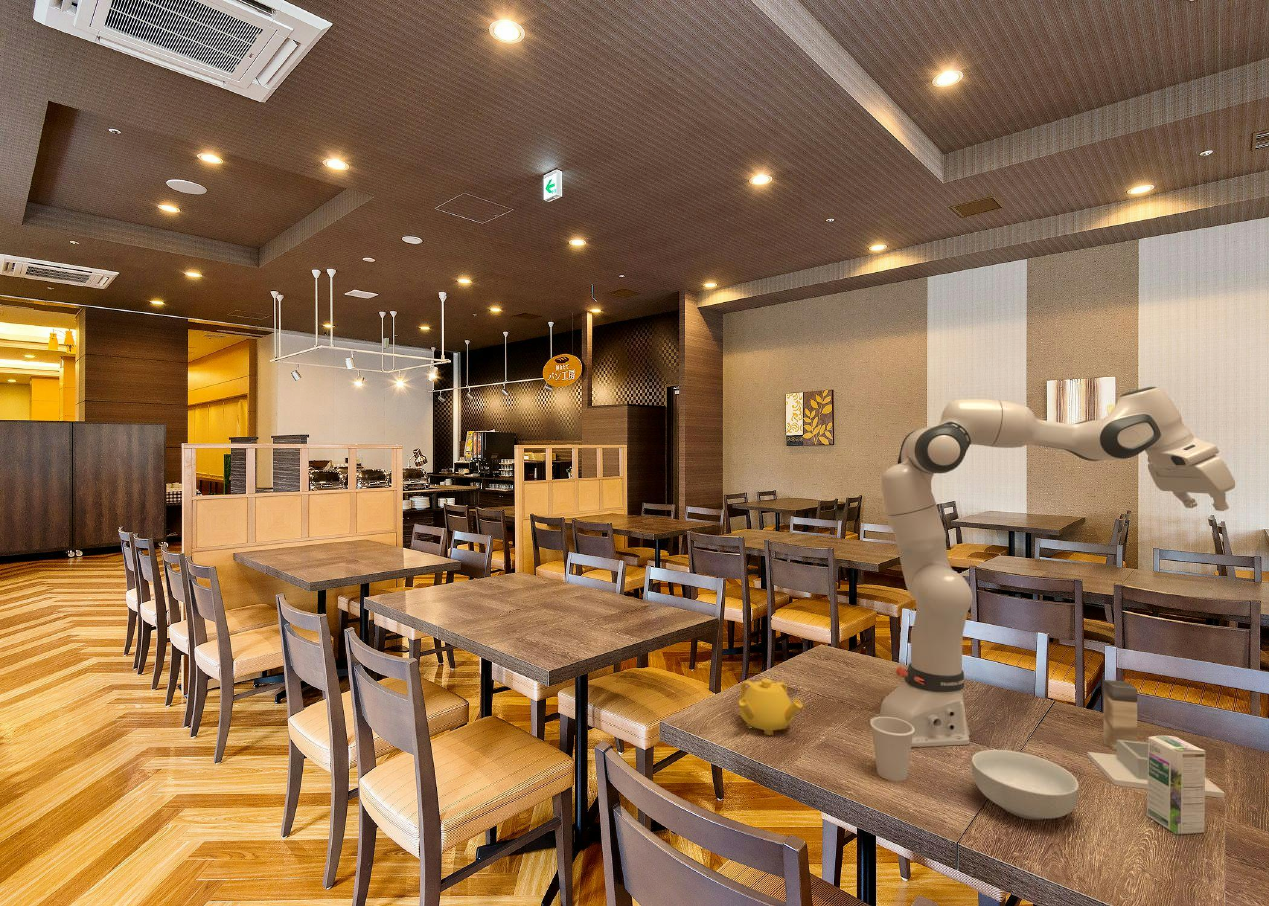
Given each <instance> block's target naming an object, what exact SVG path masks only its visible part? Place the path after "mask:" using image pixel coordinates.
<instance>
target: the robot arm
mask: <svg viewBox="0 0 1269 906" xmlns="http://www.w3.org/2000/svg"><path fill="white" fill-rule="evenodd" d="M971 445H972V446H973V445H975V446H976V445H977V446H983V447H991V448H1002V449H1006V448H1011V449H1013V448H1015V449H1016V448H1023V447H1026V446H1037V447H1038V446H1040V447H1044V448H1045V447H1046V448H1053V449H1057V450H1058V449H1060V450H1065V451H1066V452H1069V453H1071V454H1072V455H1074V456H1076V457H1077V458H1080V459H1082V460H1085V461H1088V462H1089V461H1090V462H1098V461H1106V460H1107V461H1109V460H1111V461H1113V460H1126V459H1130V458H1133V457H1136V456H1138V455H1139V454H1142V452H1144V451H1145V453H1146V454H1147V462H1148V464H1147V469H1148V473H1149V474H1150V477H1151V479H1152V481H1153V482H1154V484H1155V486H1156V488H1157V489H1159V490H1160V491H1162V492H1172V493H1173V496H1175V498H1177V499H1178V500H1179V501H1181V503H1182V504H1183V506H1184V507H1185V508H1186V509H1193V508H1196V507H1197V506H1198V503H1197V502H1196V499H1195V498H1193V497H1191V495H1190V494H1189V493H1192V494H1208V495H1209V496H1210V498H1213V503H1212V504H1211V505H1212V506H1213V508H1214V510H1215V511H1216V512H1217V511H1218V512H1225V511H1226V510H1229V509H1230V507H1229V504H1228V503H1227V500H1226V497H1227V496H1226V495H1227V494H1226V493H1227V492H1229V491H1231V490H1234V489H1235V488H1236V481H1235V477H1234V476H1233V474H1232V473H1231V471H1230V469H1229V467H1228V466H1227V464H1226V463H1225V461H1224V459H1222V458H1221V457H1220V456H1219V455H1218V454H1219V452H1220V450H1219V449H1218V447H1217V446H1216V445H1215V444H1214V443H1211V442H1207V441H1205V440H1202V439H1200V438H1199V437H1194V435H1193V433H1192V431H1191V430H1190V429H1188V428H1187V426H1185V424H1184V423H1183V420H1182V415H1181V413H1180V412H1179V410H1178V408H1177V407H1176V405H1175V404H1174V402H1173V401H1172V400H1171V398H1170V396H1169V395H1168V394H1167V393H1166V392H1165V391H1164V390H1163V389H1161V388H1159V387H1157V386H1156V387H1155V386H1148V387H1142V388H1139V389H1134V390H1131V391H1130V390H1129V391H1128V392H1125V393H1122V394H1121V395H1119V396H1118V399H1117V402H1116V403H1115V406H1114V407H1113V408H1112V410H1111V411H1110V412H1109V413H1108V414H1107V415H1106V416H1105V417H1104V418H1102V419H1087V420H1083V421H1079V422H1076V423H1063V422H1059V421H1051V420H1043V419H1040V418H1037V417H1036V416H1035V414H1034V412H1033V411H1032V409H1030V408H1029V406H1025V405H1023V404H1019V403H1017V402H1013V401H1007V400H1000V399H991V398H990V399H989V398H962V399H961V398H960V399H954V400H952V401H950V402H949V403H947V405H946V406H945V407H944V409H943V411H942V413H941V416H940V421H939V422H938V424H937V425H935V426H934V425H933V426H926V427H921V428H918V429H915V430H913V431H911V432H909V433H908V434H907V435H906V437H905V438H904V439H903V441H902V443H901V446H900V450H899V455H898V459H897V464H895V465H892V466H890V467H889V468H888V469H886V470H885V471H884V472H883V474H882V475H881V488H882V490H881V491H882V495H883V496H882V497H883V502H884V505H885V510H886V514H887V516H888V520H889V523H890V526H891V528H892V529H891V530H892V532H893V536H894V538H895V542H896V545H897V549H898V555H899V562H900V565H901V571H902V575H903V578H904V582H905V587H906V589H907V591H908V594H909V595H910V596H911V597H912V598H913V599H915V604H916V605H915V607H916V609H915V617H914V620H913V621H914V622H913V625H912V628H911V631H910V663H908V667H907V669H905V668H903V667H902V666H898V667H896V669H895V674H896V675H897V676H900V677H902V678H904V681H903V682H901V684H899V685H898V686H897V687H896V688H895V689H893V690H892V691H891V692H890V693H889V694H888V695H887V696H886V697H884V698H883V700H882V702H881V705H880V712H879V715H877V716H873V717H871V718H870V719H869V723H870V722H871V720H872V719H874V718H877V717H893V718H898V719H901V720H904V721H906V722H908V723H910V724H911V725H912V726H913V727H914V729H915V731H914V733H913V737H912V744H911V748H919V747H921V748H922V747H939V746H940V747H941V746H959V745H960V746H962V745H963V746H964V745H970V734H971V731H970V729H969V725H968V721H967V716H966V708H965V707H966V706H965V701H964V694H963V689H964V688H965V673H964V670H963V639H964V638H963V637H964V631H965V630H964V629H965V626H966V622H967V617H968V611H969V610H970V609H971V607H972V604H973V599H974V598H973V593H972V589H971V587H970V585H969V584H968V581H967V580H966V579H965V577H963V575H961V574H960V573H958V572H957V571H955V570H954V569H953V568H952V566H951V565H950V564H951V563H950V561H949V556H948V551H947V543H946V540H947V539H946V538H947V535H946V531H945V528H944V525H943V522H942V518H941V514H940V512H939V508H938V506H937V503H936V499H935V496H934V494H933V491H932V479H933V477H934V474H947V473H949V472H952V471H954V470H955V469H957V468H958V467H959V466H960V465H961V463H962V462H963V460H964V458H965V456H966V454H967V451H968V449H969V448H970V446H971ZM870 727H871V728H872V726H871V725H870Z"/></svg>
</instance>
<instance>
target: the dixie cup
mask: <svg viewBox="0 0 1269 906" xmlns="http://www.w3.org/2000/svg"><path fill="white" fill-rule="evenodd" d="M876 717H877V716H876ZM869 725H870V727H871V726H872V727H871V731H872V739H873V750H874V756H875V763H876V764H875V765H876V773H877V774H878V775H879V776H880V777H881V778H883V779H885V780H887V781H891V780H893V781H892V782H903V780H904V781H905V780H907V779H908V772H909V766H910V765H909V764H910V759H911V758H910V757H911V750H912V747H911V744H912V737H913V733H914V731H915V729H914V727H913V726H912V725H911V724H910V723H908V722H906V721H904V720H901V719H898V718H893V717H877V718H874V719H872V720H871V722H870V721H869Z"/></svg>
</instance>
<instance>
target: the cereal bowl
mask: <svg viewBox="0 0 1269 906" xmlns="http://www.w3.org/2000/svg"><path fill="white" fill-rule="evenodd" d="M970 764H971V773H972V777H973V780H974V783H975V784H976V786H977V788H978V789H979V791H980V792H981V793H982V794H983V795H984V796H985V797H986V798H988V799H989V800H990V801H991V802H992V803H994V804H995V805H998V806H999V807H1001V809H1003V810H1004V809H1005V810H1004V811H1006V812H1007V813H1009V812H1010V814H1011V813H1012V814H1011V815H1014V816H1017V817H1019V818H1022V817H1023V819H1028V820H1034V821H1036V820H1044V819H1047V820H1049V819H1056V818H1057V819H1058V818H1061V817H1063V816H1064V817H1065V816H1066V815H1068V814H1070V813H1071V812H1072V811H1073V810H1074V808H1075V807H1076V806H1077V804H1078V800H1079V795H1080V784H1079V781H1078V780H1077V778H1076V777H1075V776H1074V775H1073V774H1072V773H1071V772H1070V771H1068V770H1067V769H1065V768H1064V767H1062V766H1060V765H1058V764H1056V763H1054V762H1052V761H1050V760H1048V759H1046V758H1045V759H1044V758H1042V757H1039V756H1036V755H1033V754H1029V753H1025V752H1020V751H1015V750H1007V749H1005V750H1004V749H987V750H981V751H978V752H976V753H975V754H973V756H972V757H971V763H970Z"/></svg>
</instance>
